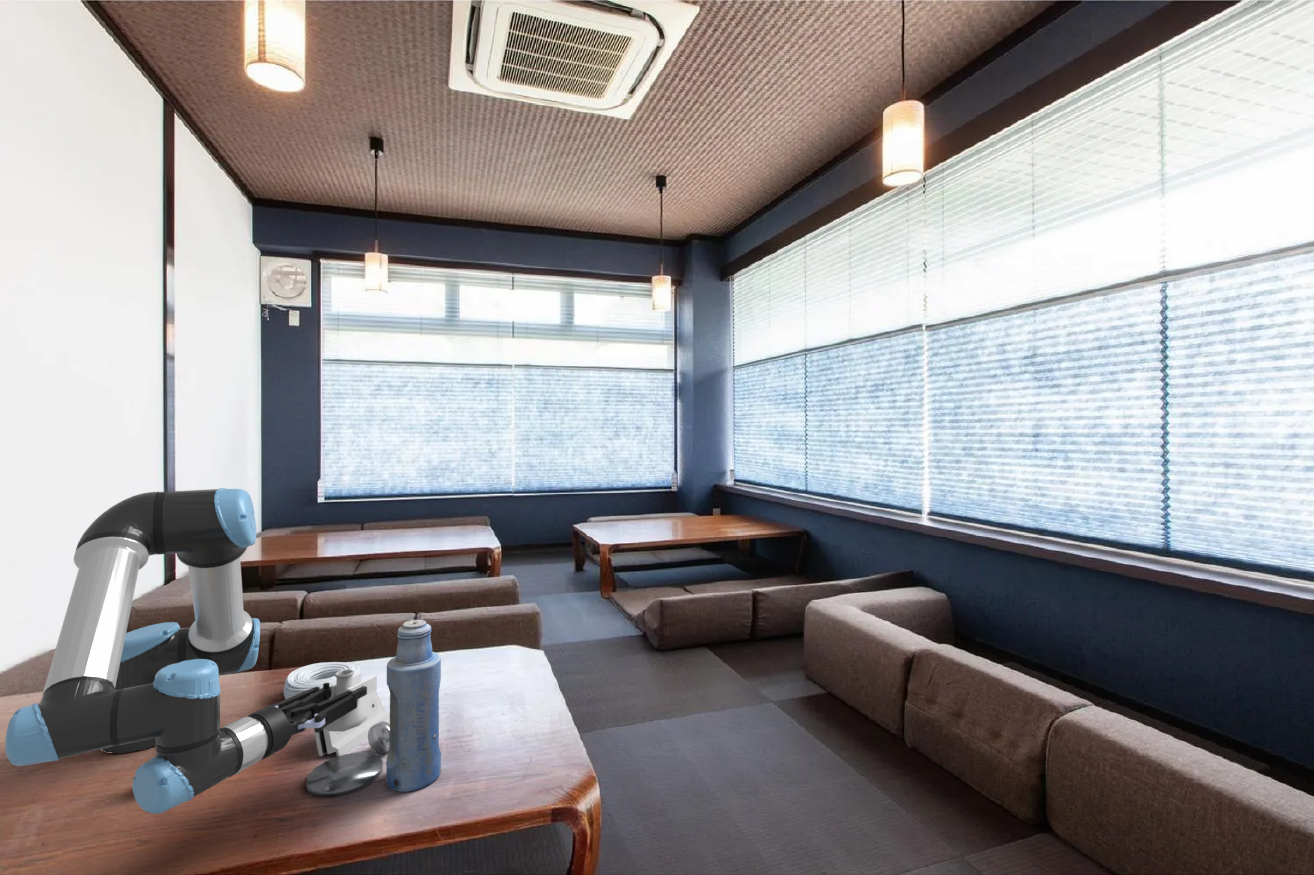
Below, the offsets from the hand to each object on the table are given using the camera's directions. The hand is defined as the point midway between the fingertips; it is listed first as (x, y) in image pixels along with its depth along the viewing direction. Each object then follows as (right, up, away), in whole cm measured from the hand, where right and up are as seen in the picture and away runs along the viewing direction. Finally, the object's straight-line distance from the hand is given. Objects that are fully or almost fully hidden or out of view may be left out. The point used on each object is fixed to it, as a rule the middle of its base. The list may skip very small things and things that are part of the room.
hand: (367, 681), depth 119 cm
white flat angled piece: (-8, -17, +10) cm, 21 cm away
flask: (-2, -6, -5) cm, 8 cm away
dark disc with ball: (0, -16, +1) cm, 16 cm away
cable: (-26, -16, +31) cm, 44 cm away
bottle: (+12, -17, -5) cm, 21 cm away
